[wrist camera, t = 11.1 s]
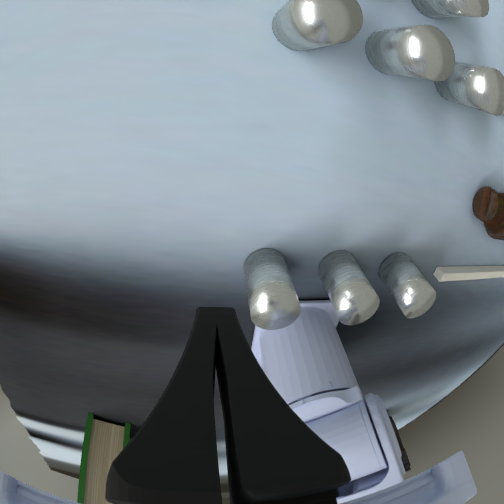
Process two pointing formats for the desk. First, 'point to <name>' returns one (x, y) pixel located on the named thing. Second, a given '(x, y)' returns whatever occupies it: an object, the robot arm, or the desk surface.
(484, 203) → the bolt
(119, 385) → the desk surface
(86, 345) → the desk surface
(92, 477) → the hardback book
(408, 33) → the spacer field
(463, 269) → the tray rim
